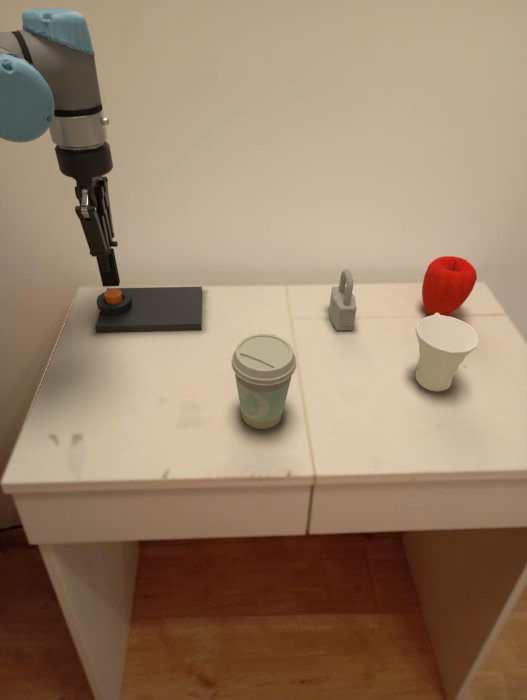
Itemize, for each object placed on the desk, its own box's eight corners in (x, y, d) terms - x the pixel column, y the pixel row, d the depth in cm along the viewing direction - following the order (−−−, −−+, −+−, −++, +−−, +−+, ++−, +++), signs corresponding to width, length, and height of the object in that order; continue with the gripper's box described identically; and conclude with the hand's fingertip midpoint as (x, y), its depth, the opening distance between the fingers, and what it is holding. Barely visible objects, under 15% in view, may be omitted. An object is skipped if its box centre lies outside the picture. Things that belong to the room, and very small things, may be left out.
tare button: (104, 305, 83) (102, 297, 82) (107, 295, 85) (105, 288, 84) (121, 304, 83) (120, 297, 82) (123, 295, 86) (122, 288, 85)
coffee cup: (222, 403, 70) (220, 341, 62) (273, 386, 73) (277, 324, 65) (247, 445, 64) (249, 382, 56) (301, 424, 67) (310, 361, 59)
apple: (463, 330, 85) (483, 279, 78) (414, 321, 87) (429, 270, 80) (461, 303, 92) (479, 254, 85) (415, 296, 94) (429, 246, 87)
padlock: (355, 330, 84) (365, 283, 78) (333, 331, 84) (341, 283, 77) (346, 307, 90) (355, 261, 83) (325, 308, 89) (332, 261, 83)
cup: (448, 360, 79) (467, 312, 72) (466, 401, 72) (489, 351, 65) (395, 359, 78) (409, 310, 72) (409, 400, 71) (426, 350, 65)
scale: (94, 332, 81) (90, 319, 79) (105, 294, 90) (102, 281, 88) (201, 330, 83) (200, 316, 81) (202, 292, 92) (201, 279, 90)
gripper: (100, 158, 62) (128, 304, 78) (115, 129, 72) (137, 264, 87) (42, 158, 62) (81, 306, 77) (65, 129, 71) (96, 265, 87)
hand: (111, 283), depth 82 cm, fingers closed
